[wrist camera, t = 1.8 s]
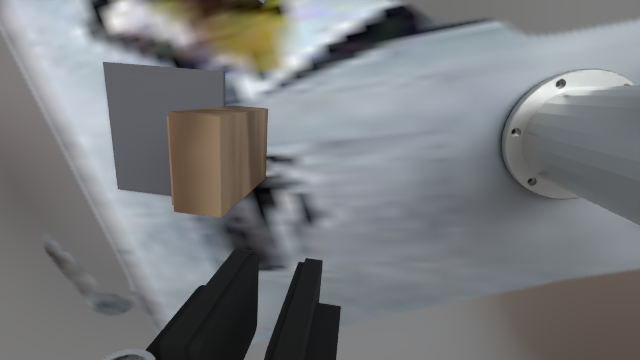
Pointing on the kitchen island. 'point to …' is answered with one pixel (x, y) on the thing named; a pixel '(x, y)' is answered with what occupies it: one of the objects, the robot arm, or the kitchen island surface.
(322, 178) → the kitchen island surface
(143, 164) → the charcoal mat
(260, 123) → the brown wooden block
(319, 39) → the kitchen island surface
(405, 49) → the kitchen island surface
